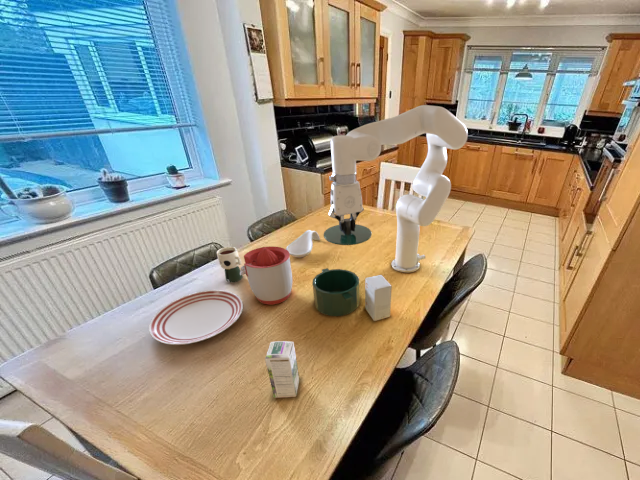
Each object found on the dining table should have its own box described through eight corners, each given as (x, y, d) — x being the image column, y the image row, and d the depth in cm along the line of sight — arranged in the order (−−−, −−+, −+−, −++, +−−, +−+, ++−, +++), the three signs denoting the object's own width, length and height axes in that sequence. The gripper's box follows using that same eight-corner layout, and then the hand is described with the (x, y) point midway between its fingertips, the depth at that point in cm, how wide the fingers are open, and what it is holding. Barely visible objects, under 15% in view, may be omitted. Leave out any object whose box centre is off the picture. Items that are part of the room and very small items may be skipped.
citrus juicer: (246, 289, 118) (234, 242, 107) (292, 281, 123) (285, 236, 112) (247, 313, 106) (233, 263, 95) (298, 303, 112) (291, 255, 100)
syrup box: (278, 380, 83) (268, 341, 75) (300, 379, 83) (293, 340, 75) (273, 398, 78) (263, 358, 70) (297, 397, 78) (289, 357, 70)
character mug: (217, 281, 122) (208, 252, 115) (230, 272, 128) (222, 244, 121) (239, 286, 119) (231, 257, 112) (251, 278, 125) (244, 249, 118)
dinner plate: (198, 361, 87) (195, 352, 86) (130, 336, 95) (126, 328, 93) (262, 307, 109) (260, 299, 107) (202, 290, 116) (200, 283, 115)
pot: (345, 282, 124) (344, 262, 119) (370, 311, 109) (370, 289, 104) (306, 293, 117) (303, 272, 112) (328, 326, 102) (326, 303, 96)
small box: (390, 316, 107) (392, 285, 100) (373, 321, 104) (374, 290, 97) (380, 304, 113) (381, 274, 106) (364, 308, 110) (364, 277, 103)
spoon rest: (306, 262, 137) (304, 248, 133) (282, 259, 139) (280, 244, 135) (326, 240, 157) (325, 227, 153) (304, 238, 158) (303, 225, 154)
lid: (357, 223, 120) (357, 208, 117) (380, 240, 108) (380, 223, 105) (316, 232, 113) (314, 216, 109) (335, 251, 101) (334, 233, 97)
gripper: (325, 184, 93) (330, 239, 103) (372, 177, 100) (372, 230, 110) (316, 178, 98) (322, 231, 108) (361, 172, 105) (362, 223, 116)
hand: (347, 230), depth 109 cm, fingers closed on lid, 2 cm apart
